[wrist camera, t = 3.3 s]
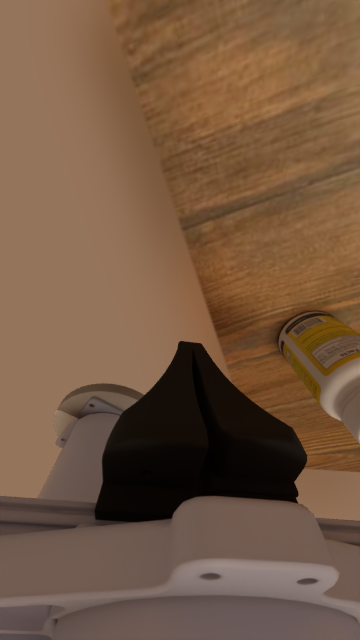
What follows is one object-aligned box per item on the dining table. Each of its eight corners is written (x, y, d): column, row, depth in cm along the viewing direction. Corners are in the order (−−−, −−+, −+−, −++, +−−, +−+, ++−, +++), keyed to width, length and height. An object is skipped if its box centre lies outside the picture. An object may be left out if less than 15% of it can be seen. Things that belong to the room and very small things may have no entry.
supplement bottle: (317, 363, 18) (412, 466, 11) (267, 354, 18) (330, 453, 10) (348, 316, 16) (493, 402, 9) (293, 303, 16) (395, 383, 8)
